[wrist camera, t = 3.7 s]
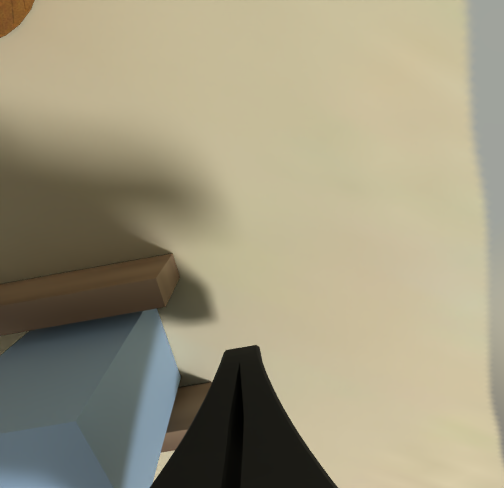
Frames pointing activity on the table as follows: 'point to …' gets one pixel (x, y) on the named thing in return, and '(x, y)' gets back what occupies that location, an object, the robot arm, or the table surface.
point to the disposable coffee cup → (13, 14)
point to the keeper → (86, 403)
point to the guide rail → (101, 312)
